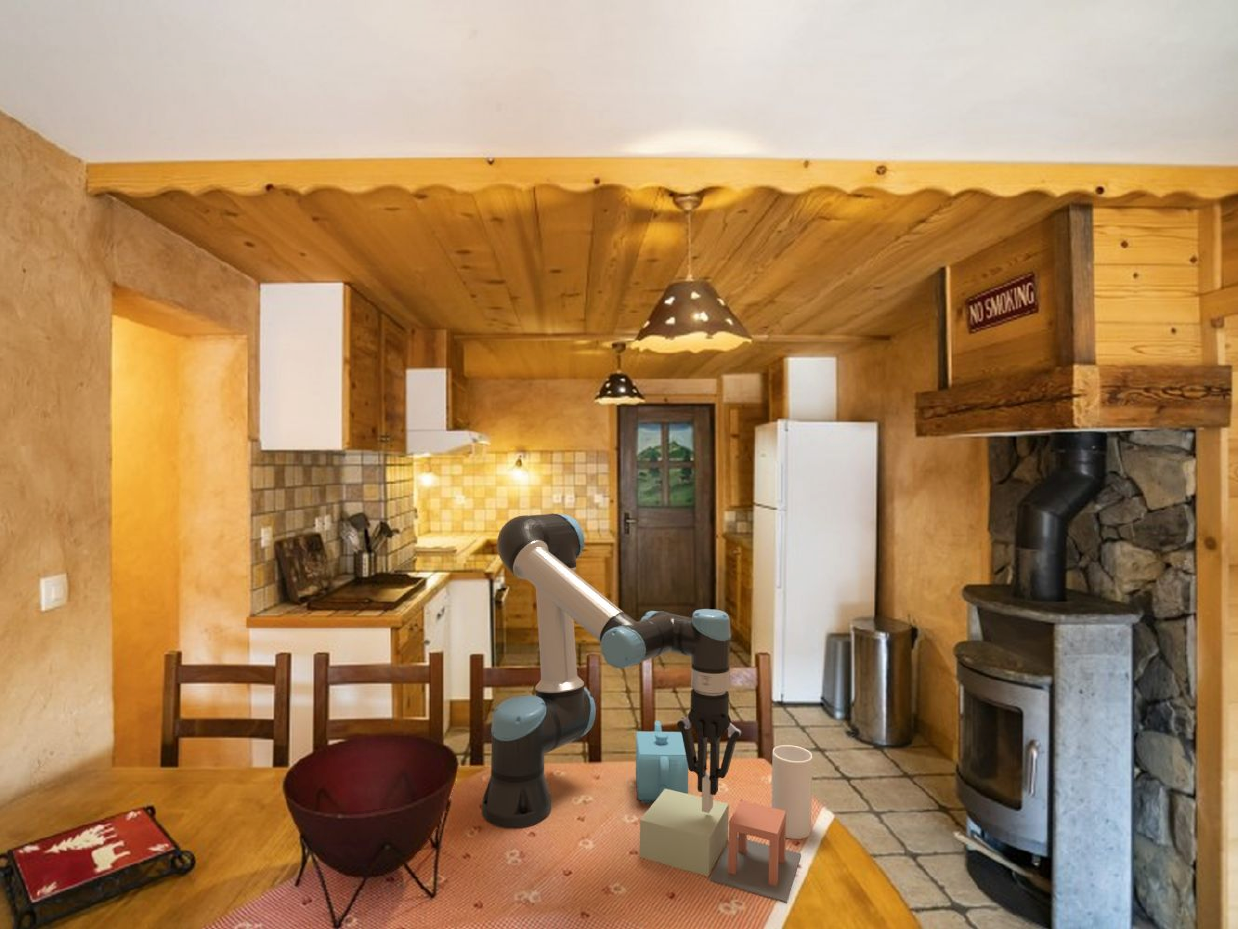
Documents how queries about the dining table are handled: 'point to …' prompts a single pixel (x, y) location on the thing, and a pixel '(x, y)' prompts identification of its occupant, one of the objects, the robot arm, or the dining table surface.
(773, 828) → the stool
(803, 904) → the dining table surface
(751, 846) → the mat
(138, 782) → the dining table surface
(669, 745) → the teapot
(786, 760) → the cup
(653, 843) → the step block
